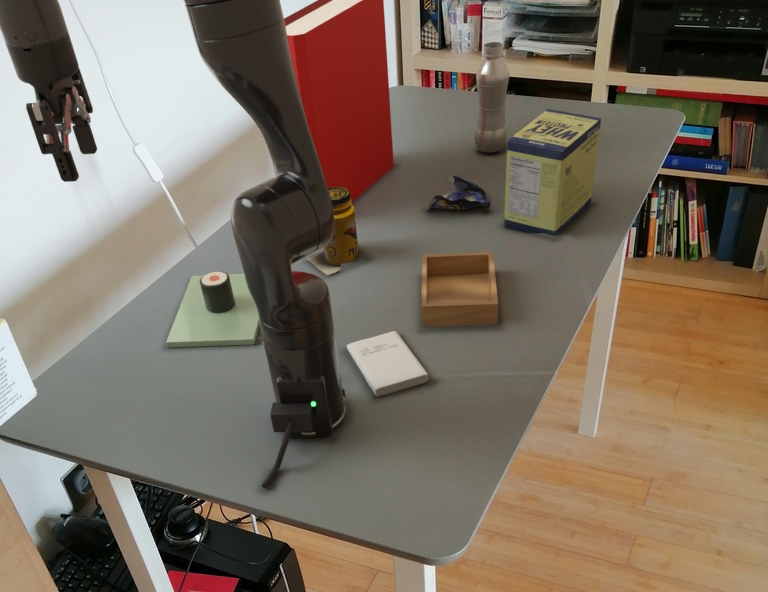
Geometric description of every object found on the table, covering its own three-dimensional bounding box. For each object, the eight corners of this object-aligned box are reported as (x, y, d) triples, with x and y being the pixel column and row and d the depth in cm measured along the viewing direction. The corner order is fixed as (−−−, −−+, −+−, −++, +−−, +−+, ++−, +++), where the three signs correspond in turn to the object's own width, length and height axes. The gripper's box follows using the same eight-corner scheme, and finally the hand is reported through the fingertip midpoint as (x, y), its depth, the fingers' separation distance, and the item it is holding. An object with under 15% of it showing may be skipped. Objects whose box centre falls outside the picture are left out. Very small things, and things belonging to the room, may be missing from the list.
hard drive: (375, 398, 116) (347, 352, 124) (428, 382, 118) (397, 338, 126) (375, 389, 115) (346, 343, 123) (428, 373, 117) (396, 329, 125)
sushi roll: (232, 312, 133) (226, 285, 129) (203, 313, 133) (196, 286, 129) (237, 296, 136) (231, 269, 132) (209, 298, 136) (202, 270, 133)
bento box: (497, 327, 126) (498, 303, 123) (422, 330, 127) (421, 306, 124) (492, 275, 137) (492, 251, 134) (423, 278, 138) (422, 254, 135)
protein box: (592, 203, 152) (602, 116, 141) (555, 240, 143) (563, 151, 132) (541, 192, 156) (547, 107, 145) (502, 227, 148) (505, 140, 137)
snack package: (436, 191, 160) (418, 217, 152) (441, 158, 155) (423, 183, 148) (495, 206, 158) (480, 233, 151) (501, 174, 154) (487, 200, 146)
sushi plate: (254, 344, 128) (253, 339, 127) (167, 347, 129) (165, 342, 128) (272, 277, 141) (271, 272, 141) (193, 280, 142) (191, 275, 142)
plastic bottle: (468, 148, 173) (469, 44, 158) (496, 141, 174) (499, 37, 160) (484, 159, 168) (486, 53, 154) (512, 151, 170) (517, 45, 156)
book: (360, 160, 172) (344, -15, 149) (393, 166, 169) (382, -12, 146) (289, 218, 156) (258, 32, 133) (324, 225, 153) (299, 36, 130)
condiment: (368, 260, 143) (362, 193, 135) (327, 276, 140) (318, 209, 132) (346, 244, 148) (339, 179, 139) (306, 260, 145) (296, 194, 136)
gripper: (25, 17, 104) (70, 146, 115) (-17, 54, 94) (36, 191, 106) (83, 13, 103) (121, 143, 115) (46, 50, 93) (92, 188, 105)
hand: (80, 166), depth 110 cm, fingers open, 8 cm apart
